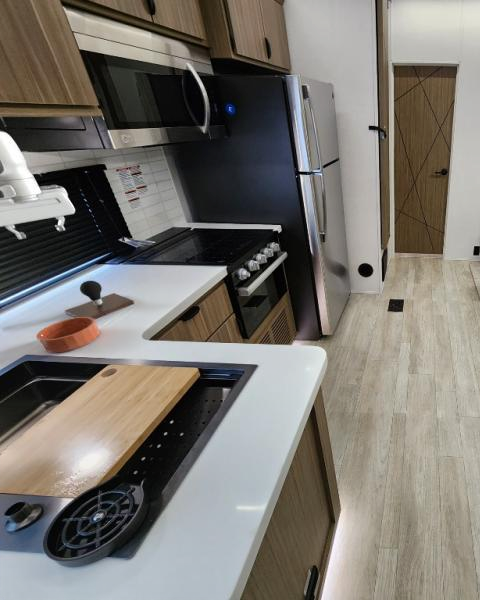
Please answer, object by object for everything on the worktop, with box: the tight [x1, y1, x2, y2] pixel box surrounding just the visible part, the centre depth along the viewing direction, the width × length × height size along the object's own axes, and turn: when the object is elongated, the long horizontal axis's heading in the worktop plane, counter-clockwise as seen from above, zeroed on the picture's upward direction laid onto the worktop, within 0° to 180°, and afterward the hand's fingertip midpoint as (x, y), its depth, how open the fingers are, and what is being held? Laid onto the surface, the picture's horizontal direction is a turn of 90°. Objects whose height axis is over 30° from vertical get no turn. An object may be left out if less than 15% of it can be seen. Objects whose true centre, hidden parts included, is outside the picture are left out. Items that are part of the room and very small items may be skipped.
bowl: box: [36, 317, 101, 353], centre depth 105 cm, size 14×14×5 cm
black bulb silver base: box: [79, 280, 103, 306], centre depth 122 cm, size 6×6×10 cm
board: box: [64, 292, 135, 320], centre depth 125 cm, size 16×14×2 cm
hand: (42, 234), depth 104 cm, fingers open, 8 cm apart
